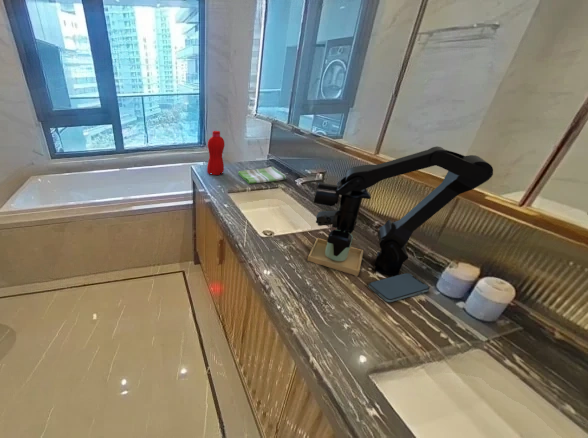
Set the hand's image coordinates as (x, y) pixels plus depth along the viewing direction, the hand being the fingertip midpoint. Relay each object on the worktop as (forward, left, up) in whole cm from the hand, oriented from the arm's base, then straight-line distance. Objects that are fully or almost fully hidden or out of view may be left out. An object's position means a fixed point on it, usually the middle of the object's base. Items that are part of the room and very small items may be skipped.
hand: (337, 250), depth 95 cm
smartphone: (-18, +7, -3) cm, 20 cm away
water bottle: (+77, -55, -3) cm, 95 cm away
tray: (0, 0, -3) cm, 3 cm away
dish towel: (+50, -61, -3) cm, 79 cm away
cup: (0, 0, -2) cm, 2 cm away
